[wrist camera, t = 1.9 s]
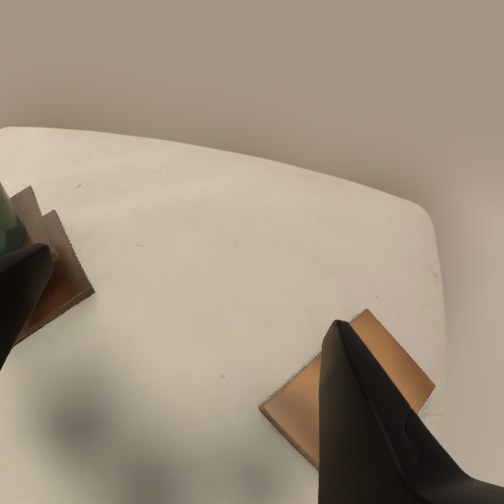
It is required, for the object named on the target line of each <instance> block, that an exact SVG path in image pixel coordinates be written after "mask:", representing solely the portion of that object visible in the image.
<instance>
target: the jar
mask: <svg viewBox="0 0 504 504" xmlns="http://www.w3.org/2000/svg"><path fill="white" fill-rule="evenodd" d="M25 232H26V230H25V224H24V221H23V220H22V218H21V217H20V215H19V213H18V212H17V210H16V208H15V207H14V205H13V203H12V202H11V200H10V198H9V196H8V195H7V193H6V191H5V189H4V187H3V186H2V184H1V182H0V257H1V256H4V255H6V254H9V253H11V252H14V251H17V250H19V249H21V247H22V244H23V242H24V239H25Z"/></svg>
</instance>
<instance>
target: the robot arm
mask: <svg viewBox="0 0 504 504" xmlns="http://www.w3.org/2000/svg"><path fill="white" fill-rule="evenodd" d="M52 272H53V261H52V255H51V249H50V247H49V246H48V245H46V244H43V243H36V244H33V245H30V246H27V247H25V248H22V249H19V250H17V251H14V252H11V253H9V254H6V255H4V256H1V257H0V370H1V368H2V366H3V364H4V362H5V360H6V358H7V356H8V355H9V353H10V351H11V349H12V347H13V345H14V343H15V341H16V340H17V338H18V336H19V334H20V332H21V331H22V329H23V327H24V325H25V324H26V322H27V320H28V318H29V317H30V315H31V313H32V311H33V310H34V308H35V306H36V304H37V302H38V300H39V298H40V296H41V294H42V292H43V290H44V288H45V286H46V284H47V282H48V280H49V278H50V276H51V274H52ZM318 397H319V488H318V504H504V487H501V486H497V485H494V484H490V483H486V482H483V481H479V480H476V479H474V478H472V477H470V476H469V475H467V474H466V473H465V472H464V471H462V469H461V468H460V467H459V466H458V465H457V464H456V462H455V461H454V460H453V459H452V458H451V457H450V455H449V454H448V453H447V452H446V451H445V450H444V448H443V447H442V446H441V445H440V444H439V442H438V441H437V440H436V439H435V437H434V436H433V435H432V434H431V433H430V431H429V430H428V429H427V427H426V426H425V425H424V423H423V422H422V421H421V419H420V418H419V417H418V415H417V414H416V412H415V411H414V410H413V408H411V406H410V404H409V403H408V401H407V400H406V399H405V397H404V396H403V395H402V393H401V392H400V390H399V389H398V388H397V386H396V385H395V384H394V382H393V381H392V379H391V378H390V377H389V375H388V374H387V373H386V371H385V370H384V369H383V367H382V366H381V365H380V363H379V362H378V361H377V359H376V358H375V357H374V355H373V354H372V353H371V351H370V350H369V349H368V347H367V346H366V345H365V343H364V342H363V341H362V339H361V338H360V337H359V335H358V334H357V333H356V331H355V330H354V329H353V327H352V326H351V325H350V324H349V323H348V322H346V321H342V320H334V321H333V323H332V324H331V326H330V328H329V330H328V332H327V333H326V335H325V337H324V339H323V343H322V353H321V365H320V377H319V396H318Z"/></svg>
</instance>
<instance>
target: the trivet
mask: <svg viewBox="0 0 504 504" xmlns="http://www.w3.org/2000/svg"><path fill="white" fill-rule="evenodd" d="M350 325H351V326H352V327H353V329H354V330H355V331H356V333H357V334H358V335H359V337H360V338H361V339H362V341H363V342H364V343H365V345H366V346H367V347H368V349H369V350H370V351H371V353H372V354H373V355H374V357H375V358H376V359H377V361H378V362H379V363H380V365H381V366H382V367H383V369H384V370H385V371H386V373H387V374H388V375H389V377H390V378H391V379H392V381H393V382H394V384H395V385H396V386H397V388H398V389H399V390H400V392H401V393H402V395H403V396H404V397H405V399H406V400H407V401H408V403H409V404H410V406H411V408H413V410H414V411H415V412H416V414H417V413H418V412H419V411H420V409H421V408H422V406H423V405H424V403H425V402H426V400H427V399H428V397H429V396H430V394H431V393H432V391H433V390H434V388H435V384H434V383H433V382H432V381H431V380H430V379H429V377H428V376H427V375H426V374H425V373H424V372H423V370H422V369H421V368H420V367H419V366H418V365H417V364H416V362H415V361H414V360H413V359H412V358H411V357H410V356H409V354H408V353H407V352H406V351H405V350H404V349H403V348H402V347H401V345H400V344H399V343H398V342H397V341H396V340H395V339H394V338H393V336H392V335H391V334H390V333H389V332H388V331H387V330H386V329H385V328H384V326H383V325H382V324H381V323H380V322H379V321H378V320H377V319H376V318H375V317H374V316H373V314H372V313H371V312H370V311H369V310H368V309H365V310H364V311H363V312H361V313H360V314H359V315H358V316H357V317H356V318H355V319H354V320H353V321H352V322H351V323H350ZM321 353H322V352H321ZM321 353H320V354H319V355H318V356H317V357H316V358H315V359H314V360H313V361H311V362H310V363H309V364H308V365H307V366H306V367H305V368H304V369H303V370H302V371H301V372H299V373H298V374H297V375H296V376H295V377H294V378H293V379H292V380H291V381H289V382H288V383H287V384H286V385H285V386H284V387H283V388H281V389H280V390H279V391H278V392H277V393H276V394H274V395H273V396H272V397H271V398H270V399H268V400H267V401H266V402H265V403H264V404H262V405H261V406H260V407H259V409H260V410H261V411H262V412H263V413H264V414H265V416H266V417H267V418H268V419H269V420H270V421H271V422H272V423H273V424H274V425H275V426H276V427H277V428H278V430H279V431H280V432H281V433H282V434H283V435H284V436H285V437H286V438H287V439H288V440H289V441H290V442H291V443H292V444H293V445H294V446H295V447H296V448H297V449H298V450H299V451H300V452H301V453H302V454H303V455H304V456H305V457H306V458H307V459H308V460H309V461H310V462H311V463H312V464H313V465H314V466H315V467H316V468H317V469H318V470H319V397H318V396H319V377H320V365H321Z"/></svg>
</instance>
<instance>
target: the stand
mask: <svg viewBox="0 0 504 504" xmlns="http://www.w3.org/2000/svg"><path fill="white" fill-rule="evenodd" d="M10 200H11V202H12V203H13V205H14V207H15V208H16V210H17V212H18V213H19V215H20V217H21V218H22V220H23V221H24V224H25V230H26V232H25V239H24V242H23V244H22V247H21V249H22V248H25V247H27V246H30V245H33V244H36V243H43V244H46V245H48V246H49V247H50V249H51V255H52V261H53V272H52V274H51V276H50V278H49V280H48V282H47V284H46V286H45V288H44V290H43V292H42V294H41V296H40V298H39V300H38V302H37V304H36V306H35V308H34V310H33V311H32V313H31V315H30V317H29V318H28V320H27V322H26V324H25V325H24V327H23V329H22V331H21V332H20V334H19V336H18V338H17V340H16V341H15V343H14V345H16V344H17V343H19V342H20V341H22V340H23V339H24V338H26V337H27V336H29V335H30V334H32V333H33V332H35V331H36V330H38V329H39V328H41V327H42V326H44V325H45V324H46V323H48V322H49V321H51V320H52V319H54V318H56V317H57V316H59V315H60V314H62V313H63V312H65V311H66V310H68V309H69V308H71V307H72V306H74V305H75V304H77V303H78V302H80V301H82V300H83V299H85V298H86V297H88V296H89V295H91V294H93V293H94V289H93V288H92V286H91V284H90V282H89V280H88V278H87V276H86V274H85V272H84V271H83V269H82V267H81V265H80V263H79V261H78V259H77V257H76V255H75V252H74V250H73V248H72V246H71V244H70V242H69V240H68V238H67V235H66V233H65V231H64V229H63V227H62V224H61V222H60V220H59V217H58V215H57V213H56V211H55V210H52V211H51V212H49V213H47V214H46V215H44V216H42V214H41V211H40V209H39V206H38V203H37V200H36V197H35V194H34V191H33V189H32V187H31V186H29V187H27V188H26V189H24V190H22V191H21V192H19V193H17V194H16V195H14V196H13V197H11V198H10ZM14 345H13V346H14Z"/></svg>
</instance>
